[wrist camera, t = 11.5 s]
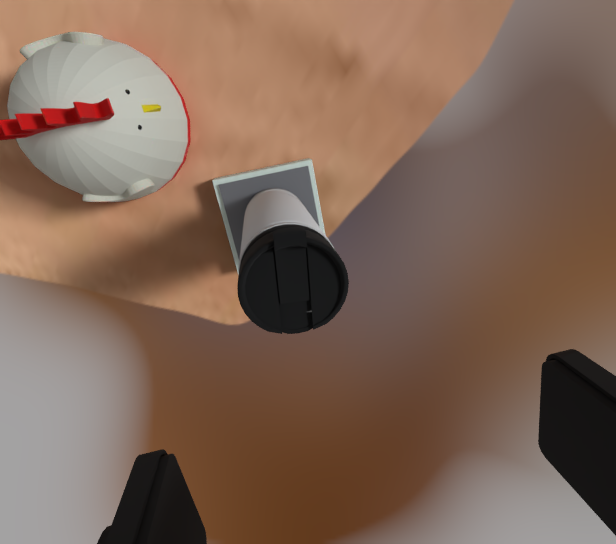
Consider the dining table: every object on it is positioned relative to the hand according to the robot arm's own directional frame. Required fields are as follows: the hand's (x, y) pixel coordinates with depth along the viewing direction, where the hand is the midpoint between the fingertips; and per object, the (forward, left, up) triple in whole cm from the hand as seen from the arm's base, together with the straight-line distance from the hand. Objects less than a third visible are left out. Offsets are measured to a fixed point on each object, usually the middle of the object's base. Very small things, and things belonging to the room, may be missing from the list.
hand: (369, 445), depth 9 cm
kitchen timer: (-11, -14, -34) cm, 39 cm away
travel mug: (0, -1, -32) cm, 32 cm away
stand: (+1, -1, -34) cm, 34 cm away
